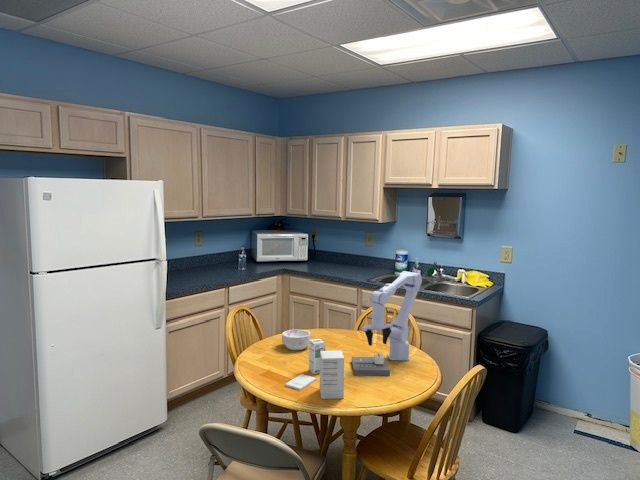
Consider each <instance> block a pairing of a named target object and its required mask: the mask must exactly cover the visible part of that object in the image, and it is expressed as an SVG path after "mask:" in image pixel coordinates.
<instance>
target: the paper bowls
mask: <svg viewBox="0 0 640 480" xmlns="http://www.w3.org/2000/svg"><path fill="white" fill-rule="evenodd" d="M311 336H312V335H311V332H310V331H309V330H307V329H306V330H305V329H298V328H297V329H296V328H295V329H289V330H285V331H283V332H282V333H281V344H283V345H284V346H285V347H286V348H287V349H288V350H291V351H301V350H304V349H306V347H307V346H309V340H312V339H311Z"/></svg>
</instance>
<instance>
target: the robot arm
mask: <svg viewBox="0 0 640 480" xmlns="http://www.w3.org/2000/svg"><path fill="white" fill-rule="evenodd" d="M398 275H399V276H398V277H397V278H396V279H395V280H394V281H392V283H385V285H384V286H383V287H381V288H380V289H377V290H374V291H372V293H371V294H370V297H369V300H370V304H371V306H372V309H371V310H372V311H371V324H368V325H365V326H363V327H362V331H364V333H365V337H366V338H367V345H369V346H370V347H372V345H373V336H374V332H373V331H378V330H381V331H382V344H384V345H387V342H388V340H389V349H388V350H389V352H388V353H387V358H388V359H389V361H410V359H409V358H410V356H409V355H410V343H409V341H408V340H407V339H408V338H409V332H410V327H409V325H408V324H407V323H408V320H409V317H410V314H411V311H412V308H413V306H414V304H415V301H416V298H417V295H418V292H419V291H420V289H421V286H422V282H423V278H422V275H421V273H419V272H418V273H417V272H412V271H406V270H403V271H402V272H400V273H399V274H398ZM402 286H403V288H404V289H405V291H406V292H405V295H404V297H403V300H402V303H401V305H400V309H399V311H398V314H397V316H396V318H395V320H393V321H391V322H390V323H385V305H387V303H388V301H389V299H390V298H391V297H392V296H393V295H395V294H396V291H397V290H398V289H399V288H400V287H402Z"/></svg>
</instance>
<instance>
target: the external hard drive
mask: <svg viewBox="0 0 640 480" xmlns="http://www.w3.org/2000/svg"><path fill="white" fill-rule="evenodd" d="M316 381H317V378H316V377H313V376H310V375H308V374H307V375H306V374H302V373H300V374H299V375H297V376H296V377H294V378H292V379H291V380H289V381H287V382H286V383H284V387H287V388H291V389H294V390H297V391H302V390H304V389H305V388H307V387H309V386H310V385H311V384H313V383H315V382H316Z"/></svg>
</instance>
